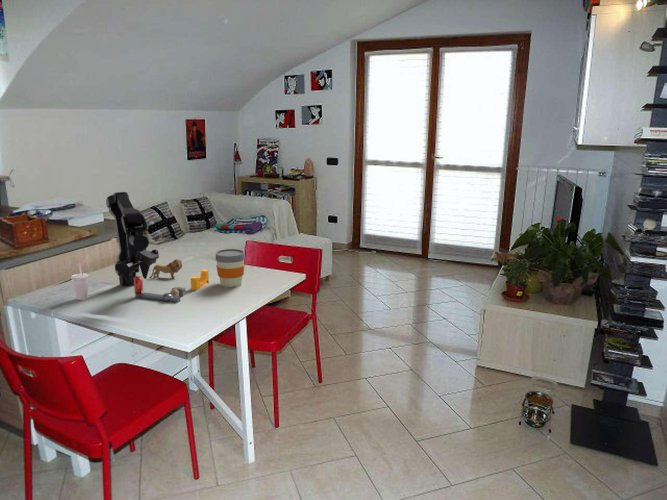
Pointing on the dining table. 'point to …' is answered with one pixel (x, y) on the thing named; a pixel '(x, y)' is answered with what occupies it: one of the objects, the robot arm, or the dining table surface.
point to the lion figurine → (167, 268)
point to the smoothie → (81, 284)
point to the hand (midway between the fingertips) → (138, 282)
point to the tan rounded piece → (175, 292)
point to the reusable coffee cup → (230, 267)
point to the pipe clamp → (200, 280)
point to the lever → (139, 293)
